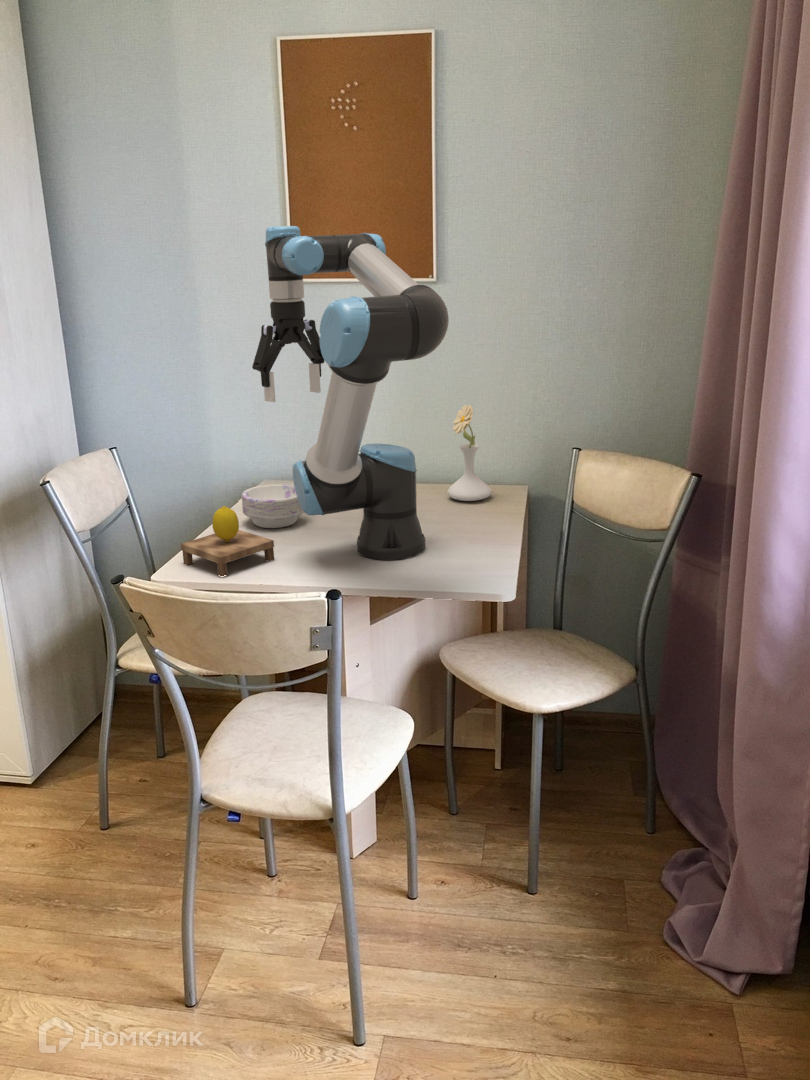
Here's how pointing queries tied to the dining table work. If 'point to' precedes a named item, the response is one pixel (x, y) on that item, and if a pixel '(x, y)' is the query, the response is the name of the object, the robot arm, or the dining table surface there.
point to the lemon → (225, 523)
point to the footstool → (227, 549)
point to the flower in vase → (468, 463)
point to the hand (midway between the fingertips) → (293, 396)
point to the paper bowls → (271, 505)
